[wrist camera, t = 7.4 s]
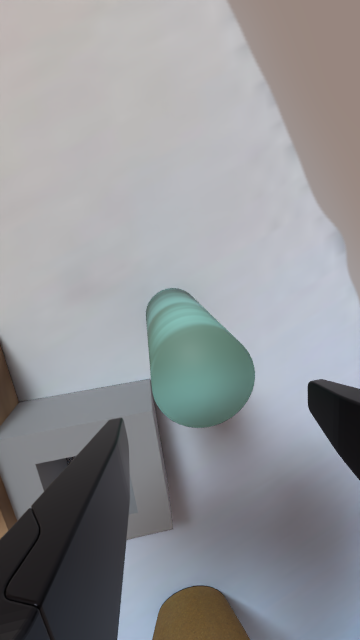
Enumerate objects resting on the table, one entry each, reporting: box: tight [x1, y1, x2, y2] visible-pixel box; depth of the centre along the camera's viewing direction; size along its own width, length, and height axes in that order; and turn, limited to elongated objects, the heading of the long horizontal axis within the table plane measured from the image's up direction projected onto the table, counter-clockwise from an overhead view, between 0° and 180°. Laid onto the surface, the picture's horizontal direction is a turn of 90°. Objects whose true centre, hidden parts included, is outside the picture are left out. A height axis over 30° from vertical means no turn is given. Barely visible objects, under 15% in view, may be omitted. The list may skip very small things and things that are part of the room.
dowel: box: [146, 288, 255, 428], centre depth 16 cm, size 4×4×11 cm
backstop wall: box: [0, 345, 19, 539], centre depth 20 cm, size 20×2×6 cm, turn 7°
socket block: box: [0, 379, 173, 540], centre depth 21 cm, size 10×10×4 cm
